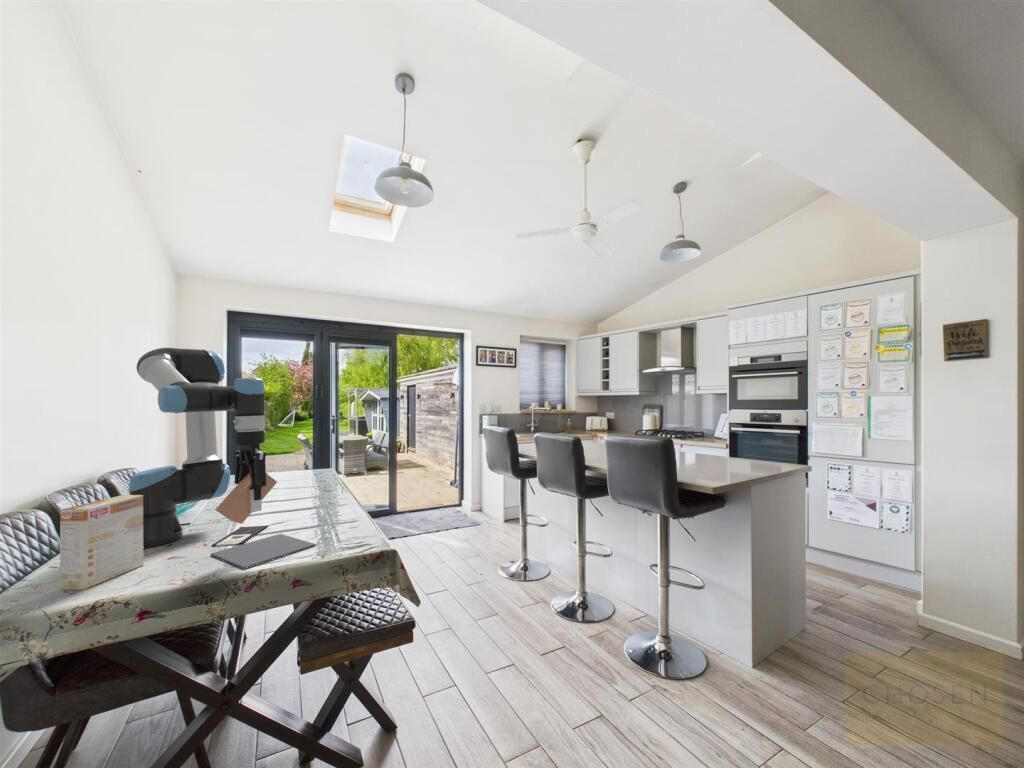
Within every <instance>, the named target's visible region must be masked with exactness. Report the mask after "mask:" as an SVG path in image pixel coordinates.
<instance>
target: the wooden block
mask: <svg viewBox="0 0 1024 768" xmlns="http://www.w3.org/2000/svg"><path fill="white" fill-rule="evenodd" d="M277 483H278V481H277V480H276V479H274V478H273V477H272V476H270V475H269V474H268V473H267V472H266V486H263V487H262V488H261V500H262V501H263V500H264V498H265V497H266V496H267V495H268V494H269V493H270V492H271V490H272V489H273V488H274V487H275V486H276V484H277ZM251 487H252V484H251V478H250V473H249V474H247V475H246V476H245V477H244V478H243V479H242V481H241V482H240V483H239V484H238V485H237V484H236V486H235V487H234V488H232V491H230V492H229V494H228V495H226V497H225V498H224V499H223V500H222V501H221V502H220V503H219V504H218V506H216V508H215V509H214V511H216V512H217V513H219V514H220V515H222V516H223V517H225V518H226V519H228V520H229V521H230V522H233V523H237V524H240V525H242V524H243V523H244V522H245V520H247V518H248V517H249V516H251V514H252V513H251V512H250V489H249V488H251Z"/></svg>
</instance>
